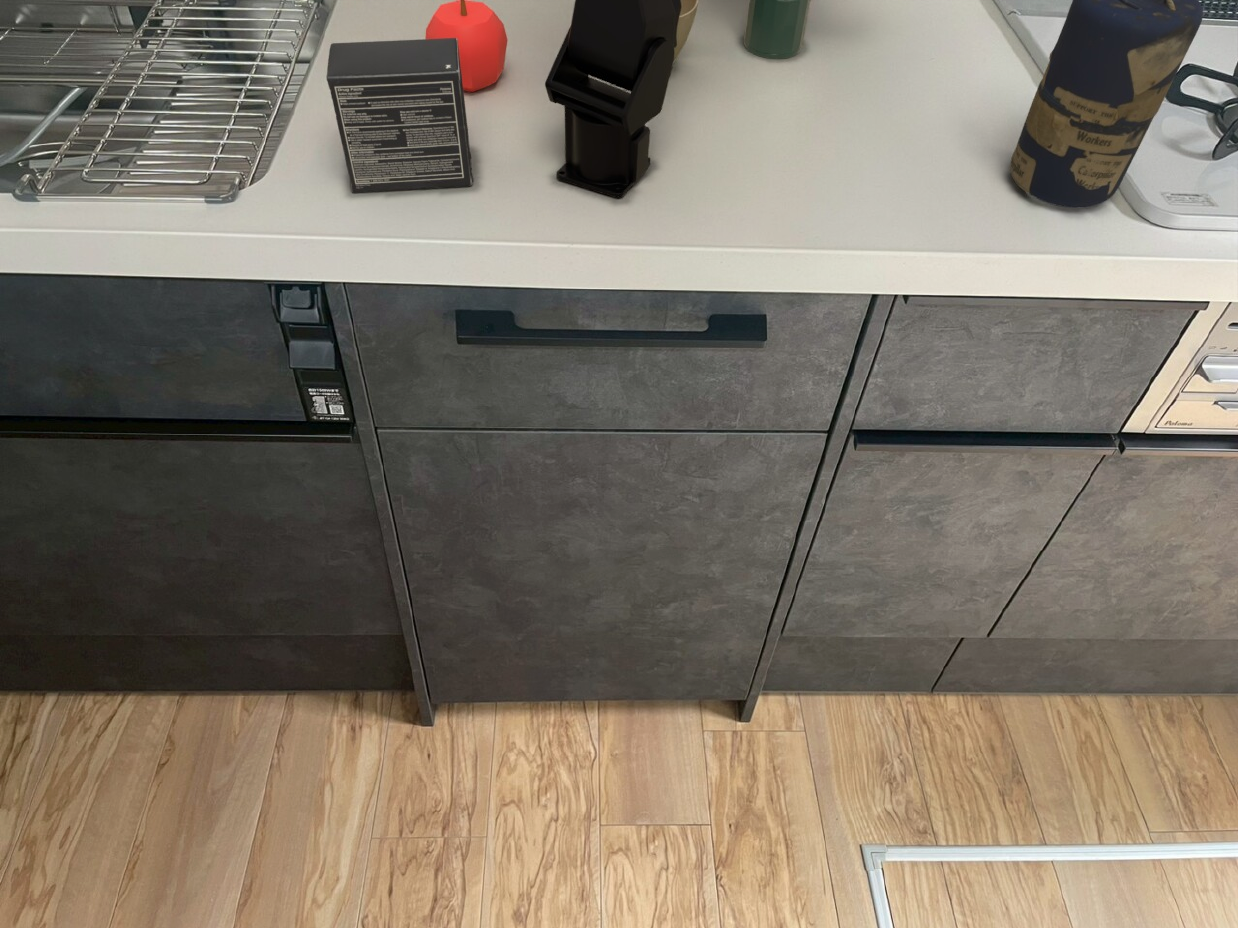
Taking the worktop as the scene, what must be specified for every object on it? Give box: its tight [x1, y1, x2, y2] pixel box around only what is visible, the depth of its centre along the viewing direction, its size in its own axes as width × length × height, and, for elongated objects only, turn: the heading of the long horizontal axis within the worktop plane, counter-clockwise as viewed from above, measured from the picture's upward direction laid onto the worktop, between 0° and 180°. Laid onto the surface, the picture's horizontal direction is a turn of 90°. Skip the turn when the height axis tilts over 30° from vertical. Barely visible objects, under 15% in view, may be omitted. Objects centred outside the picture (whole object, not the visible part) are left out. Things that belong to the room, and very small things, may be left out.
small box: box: [325, 38, 474, 194], centre depth 79 cm, size 11×6×10 cm, turn 98°
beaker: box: [743, 0, 812, 60], centre depth 98 cm, size 6×6×6 cm
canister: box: [1009, 0, 1204, 209], centre depth 78 cm, size 10×10×18 cm
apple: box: [424, 0, 509, 93], centre depth 91 cm, size 8×8×8 cm
